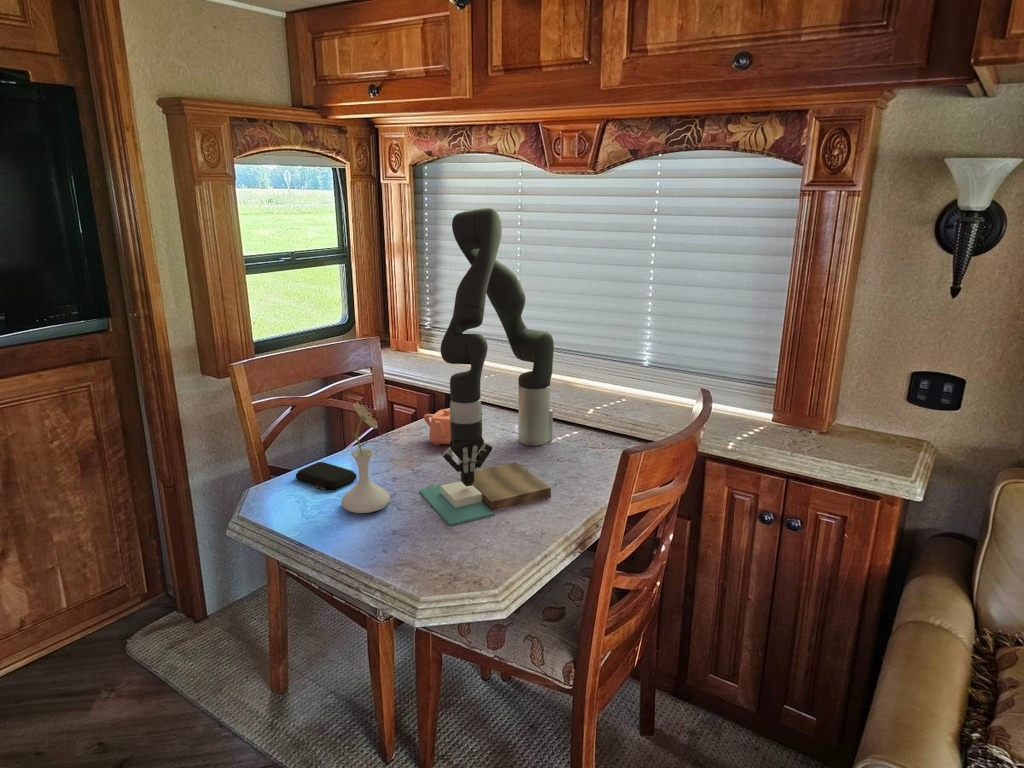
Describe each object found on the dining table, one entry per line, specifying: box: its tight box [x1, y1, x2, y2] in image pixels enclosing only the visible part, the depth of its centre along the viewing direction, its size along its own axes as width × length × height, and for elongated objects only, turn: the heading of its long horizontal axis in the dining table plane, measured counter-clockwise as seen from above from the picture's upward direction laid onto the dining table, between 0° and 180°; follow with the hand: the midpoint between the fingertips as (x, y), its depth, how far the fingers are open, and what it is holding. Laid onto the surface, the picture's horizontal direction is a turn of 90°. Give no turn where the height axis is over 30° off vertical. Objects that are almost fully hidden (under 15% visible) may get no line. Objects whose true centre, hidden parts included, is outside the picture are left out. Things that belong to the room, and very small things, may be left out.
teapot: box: [423, 408, 451, 446], centre depth 200 cm, size 14×12×10 cm
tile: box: [440, 480, 482, 508], centre depth 165 cm, size 7×9×2 cm
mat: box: [418, 480, 495, 527], centre depth 163 cm, size 11×20×1 cm, turn 27°
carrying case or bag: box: [295, 461, 357, 492], centre depth 175 cm, size 11×3×15 cm
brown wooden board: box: [472, 461, 552, 512], centre depth 170 cm, size 16×18×2 cm
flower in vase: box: [340, 401, 391, 514], centre depth 159 cm, size 13×11×25 cm
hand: (467, 484), depth 165 cm, fingers closed
